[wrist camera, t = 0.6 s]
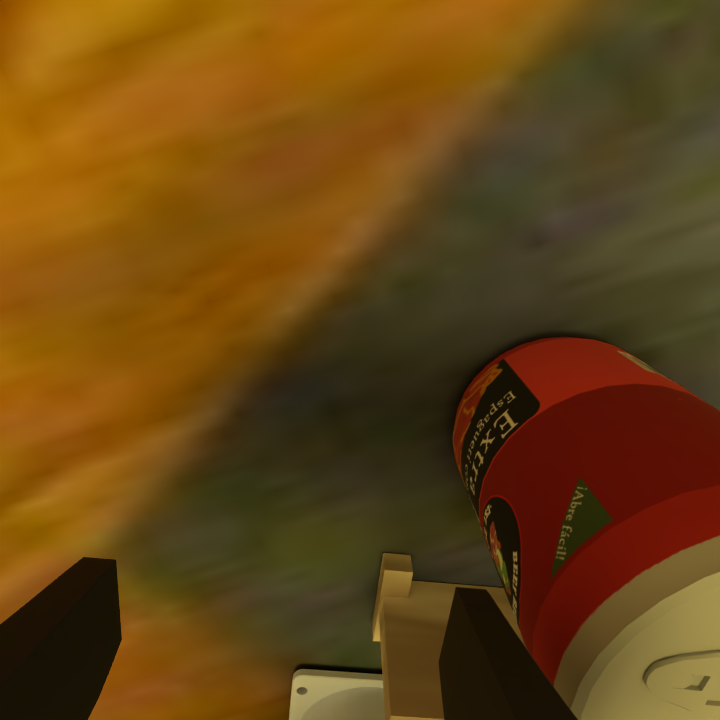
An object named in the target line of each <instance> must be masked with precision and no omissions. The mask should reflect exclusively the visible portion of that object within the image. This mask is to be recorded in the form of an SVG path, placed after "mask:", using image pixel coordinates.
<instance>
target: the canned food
mask: <svg viewBox="0 0 720 720" xmlns="http://www.w3.org/2000/svg"><path fill="white" fill-rule="evenodd" d="M453 452H454V456H455V459H456V463H457V466H458V469H459V472H460V474H461V477H462V480H463V482H464V485H465V488H466V490H467V493H468V496H469V498H470V501H471V503H472V506H473V509H474V511H475V514H476V517H477V519H478V522H479V525H480V527H481V530H482V532H483V535H484V538H485V540H486V543H487V546H488V548H489V551H490V554H491V556H492V559H493V561H494V564H495V567H496V569H497V572H498V575H499V577H500V580H501V583H502V585H503V588H504V590H505V593H506V596H507V598H508V601H509V604H510V606H511V609H512V612H513V614H514V617H515V619H516V622H517V625H518V627H519V630H520V633H521V635H522V638H523V640H524V643H525V646H526V648H527V650H528V652H529V653H530V654H531V656H532V657H533V659H534V660H535V662H536V663H537V664H538V666H539V667H540V669H541V670H542V672H543V673H544V674H545V676H546V677H547V678H548V680H549V681H550V682H551V684H552V685H553V687H554V688H555V689H556V691H557V692H558V693H559V695H560V696H561V698H562V699H563V700H564V702H565V703H566V704H567V706H568V707H569V708H570V710H571V711H572V712H573V714H574V715H575V716H576V718H577V719H578V720H720V411H719V410H717V409H716V408H714V407H713V406H711V405H709V404H708V403H706V402H705V401H703V400H702V399H700V398H699V397H697V396H695V395H694V394H692V393H691V392H689V391H688V390H686V389H685V388H683V387H681V386H680V385H678V384H677V383H675V382H674V381H672V380H671V379H669V378H667V377H666V376H664V375H663V374H661V373H660V372H658V371H657V370H655V369H653V368H652V367H650V366H649V365H647V364H646V363H644V362H643V361H641V360H639V359H638V358H636V357H635V356H633V355H632V354H630V353H628V352H626V351H624V350H622V349H620V348H619V347H617V346H615V345H611V344H608V343H604V342H601V341H598V340H593V339H583V338H572V337H553V338H543V339H539V340H535V341H532V342H528V343H524V344H522V345H519V346H517V347H515V348H513V349H511V350H509V351H507V352H504V353H503V354H502V355H500V356H499V357H497V358H496V359H494V360H493V361H492V362H490V363H489V364H487V365H486V366H485V367H484V368H483V369H482V370H481V371H480V372H479V373H478V374H477V375H476V376H475V377H474V379H473V380H472V382H471V383H470V385H469V386H468V388H467V389H466V391H465V392H464V394H463V397H462V399H461V401H460V404H459V406H458V408H457V414H456V419H455V425H454V430H453Z"/></svg>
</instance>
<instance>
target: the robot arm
mask: <svg viewBox="0 0 720 720" xmlns="http://www.w3.org/2000/svg"><path fill="white" fill-rule="evenodd" d="M121 640H122V637H121V623H120V609H119V595H118V581H117V567H116V560H112V559H100V558H87V557H83V558H82V559H81V560H79V561H78V562H77V563H76V564H74V565H73V566H72V567H70V568H69V569H68V570H67V571H65V572H64V573H63V574H62V575H61V576H59V577H58V578H57V579H56V580H54V581H53V582H52V583H51V584H50V585H48V586H47V587H46V588H45V589H43V590H42V591H41V592H40V593H39V594H37V595H36V596H35V597H34V598H33V599H31V600H30V601H29V602H28V603H26V604H25V605H24V606H23V607H21V608H20V609H19V610H18V611H17V612H15V613H14V614H13V615H12V616H10V617H9V618H8V619H7V620H5V621H4V622H3V623H2V624H0V720H88V718H89V716H90V714H91V712H92V710H93V708H94V706H95V704H96V702H97V700H98V698H99V696H100V693H101V691H102V688H103V686H104V683H105V681H106V678H107V676H108V674H109V671H110V668H111V666H112V663H113V661H114V658H115V655H116V653H117V650H118V648H119V645H120V642H121ZM438 663H439V673H440V684H441V694H442V703H443V712H444V720H578V719H577V718H576V716H575V715H574V714H573V712H572V711H571V710H570V708H569V707H568V706H567V704H566V703H565V702H564V700H563V699H562V698H561V696H560V695H559V693H558V692H557V691H556V689H555V688H554V687H553V685H552V684H551V682H550V681H549V680H548V678H547V677H546V676H545V674H544V673H543V672H542V670H541V669H540V667H539V666H538V664H537V663H536V662H535V660H534V659H533V657H532V656H531V654H530V653H529V652H528V650H527V649H526V647H525V646H524V644H523V643H522V641H521V640H520V638H519V637H518V635H517V634H516V633H515V631H514V630H513V628H512V627H511V625H510V624H509V622H508V621H507V619H506V618H505V616H504V615H503V613H502V611H501V610H500V608H499V607H498V605H497V604H496V602H495V601H494V599H493V598H492V596H491V595H490V594H489V592H488V591H487V590H486V589H476V588H463V587H456V588H455V593H454V597H453V601H452V606H451V610H450V614H449V619H448V623H447V627H446V632H445V636H444V640H443V645H442V649H441V653H440V658H439V662H438ZM289 720H385V711H384V693H383V676H382V674H370V673H356V672H342V671H327V670H313V669H300V670H297V671H296V672H295V673H294V675H293V680H292V691H291V702H290V713H289Z"/></svg>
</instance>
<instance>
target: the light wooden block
mask: <svg viewBox="0 0 720 720" xmlns="http://www.w3.org/2000/svg"><path fill="white" fill-rule="evenodd" d="M412 576H413V568H412V561H411V555H403V554H391V553H383V558H382V564H381V570H380V576H379V583H378V589H377V595H376V601H375V607H374V614H373V620H372V630H373V641H381V658H382V676H383V693H384V711H385V720H444V712H443V703H442V694H441V684H440V673H439V663H438V662H439V658H440V653H441V649H442V645H443V640H444V636H445V632H446V627H447V623H448V619H449V614H450V610H451V606H452V601H453V597H454V593H455V588H456V587H463V588H476V589H486V590H487V591H488V592H489V594H490V595H491V596H492V598H493V599H494V601H495V602H496V604H497V605H498V607H499V608H500V610H501V611H502V613H503V615H504V616H505V618H506V619H507V621H508V622H509V624H510V625H511V627H512V628H513V630H514V631H515V633H516V634H517V635H518V637H519V638H520V640H521V641H522V643H523V644H524V646H525V643H524V640H523V638H522V635H521V633H520V630H519V627H518V625H517V622H516V619H515V617H514V614H513V612H512V609H511V606H510V604H509V601H508V598H507V596H506V593H505V590H504V588H498V587H486V586H473V585H461V584H448V583H436V582H423V581H412ZM525 647H526V646H525ZM526 649H527V648H526Z"/></svg>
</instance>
